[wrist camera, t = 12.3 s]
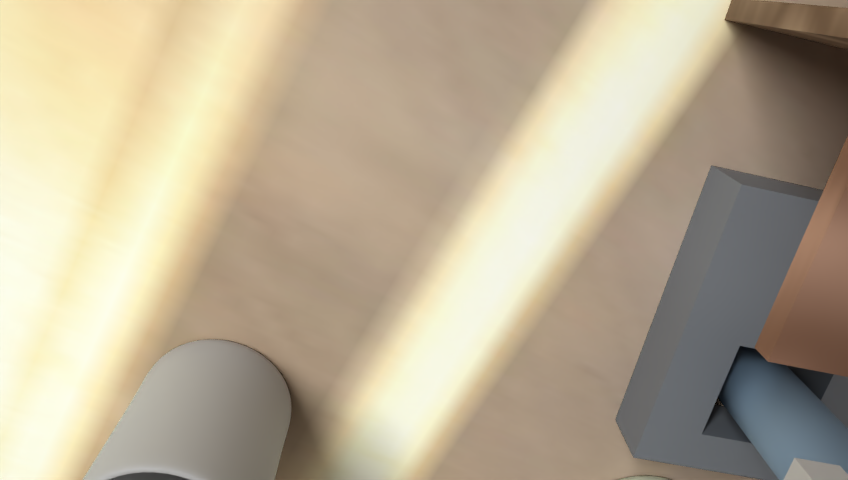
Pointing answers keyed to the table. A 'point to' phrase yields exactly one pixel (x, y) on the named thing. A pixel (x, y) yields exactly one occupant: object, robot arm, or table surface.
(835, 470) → the robot arm
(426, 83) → the table surface
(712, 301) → the socket
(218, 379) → the mug
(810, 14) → the wooden l-bracket
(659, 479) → the can
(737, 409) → the peg
